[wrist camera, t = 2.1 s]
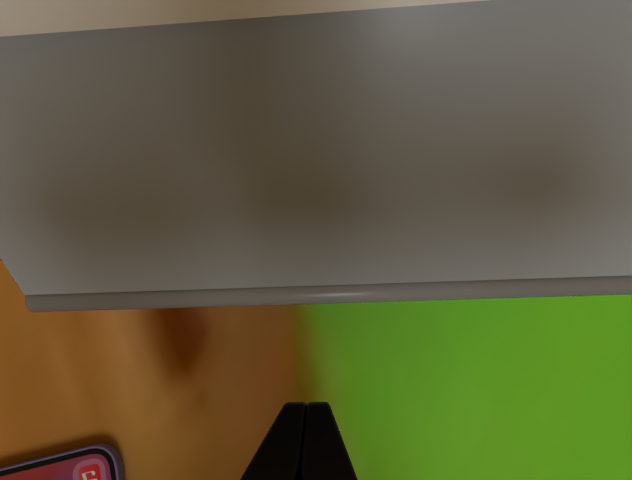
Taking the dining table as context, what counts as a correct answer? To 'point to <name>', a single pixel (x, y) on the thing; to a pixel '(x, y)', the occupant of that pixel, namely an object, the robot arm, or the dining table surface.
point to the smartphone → (70, 465)
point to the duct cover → (314, 151)
